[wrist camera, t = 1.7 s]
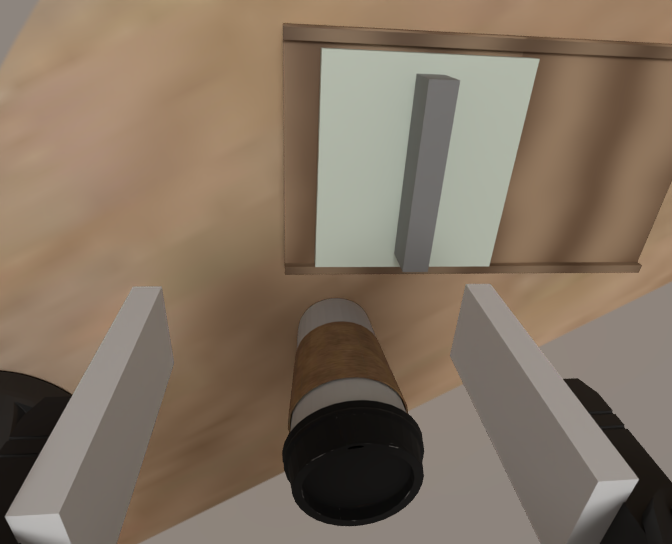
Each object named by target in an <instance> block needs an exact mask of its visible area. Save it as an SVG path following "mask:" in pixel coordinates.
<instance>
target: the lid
mask: <svg viewBox="0 0 672 544" xmlns="http://www.w3.org/2000/svg"><path fill="white" fill-rule="evenodd" d="M539 60H540V59H537V58H528V57H507V56H487V55H466V54H445V53H425V52H404V51H383V50H363V49H342V48H321V59H320V93H319V128H318V162H317V197H316V231H315V267H400V268H401V270H402V272H428V268H429V267H462V266H489V265H490V261H491V257H492V253H493V248H494V244H495V240H496V236H497V232H498V228H499V224H500V220H501V216H502V212H503V207H504V203H505V199H506V195H507V191H508V187H509V183H510V179H511V175H512V171H513V166H514V162H515V158H516V154H517V150H518V146H519V142H520V138H521V134H522V130H523V125H524V121H525V117H526V113H527V109H528V105H529V101H530V97H531V93H532V89H533V84H534V80H535V76H536V72H537V68H538V64H539Z"/></svg>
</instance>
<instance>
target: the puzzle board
mask: <svg viewBox="0 0 672 544" xmlns="http://www.w3.org/2000/svg"><path fill="white" fill-rule="evenodd" d="M321 48H342V49H363V50H383V51H404V52H425V53H445V54H466V55H487V56H507V57H528V58H537V59H540V60H539V64H538V68H537V72H536V76H535V80H534V84H533V89H532V93H531V97H530V101H529V105H528V109H527V113H526V117H525V121H524V125H523V130H522V134H521V138H520V142H519V146H518V150H517V154H516V158H515V162H514V166H513V171H512V175H511V179H510V183H509V187H508V191H507V195H506V199H505V203H504V207H503V212H502V216H501V220H500V224H499V228H498V232H497V236H496V240H495V244H494V248H493V253H492V257H491V261H490V265H489V266H462V267H429V268H428V272H402V270H401V268H400V267H315V231H316V197H317V162H318V128H319V93H320V59H321ZM283 74H284V209H285V275H304V274H471V273H639V271H640V268H641V266H642V265H641V264H639V263H638V259H639V257H640V254H641V252H642V250H643V247H644V245H645V243H646V240H647V238H648V236H649V233H650V231H651V229H652V226H653V224H654V221H655V219H656V217H657V214H658V212H659V210H660V207H661V205H662V203H663V200H664V198H665V195H666V193H667V191H668V188H669V186H670V184H671V181H672V44H662V43H643V42H625V41H606V40H587V39H569V38H550V37H532V36H513V35H494V34H476V33H457V32H439V31H420V30H401V29H383V28H364V27H345V26H327V25H308V24H290V23H283Z"/></svg>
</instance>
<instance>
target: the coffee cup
mask: <svg viewBox="0 0 672 544" xmlns="http://www.w3.org/2000/svg"><path fill="white" fill-rule="evenodd" d="M288 430H289V435H288V437H287V439H286V440H285V443H284V447H283V451H282V456H283V463H284V471H285V473H286V476H287V479H288V480H289V482H290V483H291V488H292V494H293V497H294V499H295V502H296V503H297V505H298V506H299V507H300V509H301V510H303V511H304V512H305V513H306V514H307V515H309V516H310V517H312V518H314V519H316V520H318V521H321V522H324V523H327V524H332V525H337V526H358V525H365V524H371V523H375V522H377V521H381V520H384V519H386V518H388V517H390V516H392V515H394V514H396V513H397V512H399V511H400V510H402V509H403V508H404V507H406V506H407V505H408V504H409V503H410V502H411V501H412V500H413V499H414V497H415V496H416V495H417V493H418V492H419V490H420V487H421V485H422V482H423V477H424V474H423V465H422V460H423V454H424V447H423V441H422V433H421V431H420V428H419V426H418V424H417V423H416V422H415V420H414V419H413V418H412V417H411V416H410V415H409V414H408V409H407V405H406V402H405V400H404V398H403V396H402V393H401V391H400V389H399V387H398V385H397V382H396V380H395V378H394V376H393V373H392V371H391V369H390V367H389V364H388V362H387V360H386V358H385V355H384V353H383V351H382V349H381V347H380V344H379V342H378V340H377V338H376V336H375V333H374V331H373V328H372V326H371V323H370V321H369V319H368V317H367V314H366V313H365V311H364V310H363V309H362V308H361V307H360V306H359V305H358V304H356V303H354V302H352V301H350V300H346V299H341V298H331V299H326V300H322V301H320V302H317V303H316V304H314V305H312V306H311V307H310V308H309V309H307V310H306V312H305V313H304V314H303V316H302V318H301V320H300V323H299V327H298V338H297V351H296V356H295V365H294V374H293V383H292V391H291V400H290V409H289V418H288Z"/></svg>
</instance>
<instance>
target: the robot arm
mask: <svg viewBox="0 0 672 544" xmlns="http://www.w3.org/2000/svg"><path fill="white" fill-rule="evenodd" d="M450 357H451V359H452V361H453V363H454V365H455V367H456V369H457V372H458V374H459V376H460V378H461V380H462V382H463V384H464V386H465V388H466V390H467V392H468V394H469V396H470V398H471V400H472V403H473V405H474V407H475V409H476V411H477V413H478V415H479V417H480V419H481V421H482V423H483V425H484V427H485V429H486V432H487V434H488V436H489V438H490V440H491V442H492V444H493V446H494V448H495V450H496V452H497V454H498V456H499V458H500V460H501V463H502V465H503V467H504V469H505V471H506V473H507V475H508V477H509V479H510V481H511V483H512V485H513V487H514V490H515V491H516V494H517V496H518V498H519V500H520V502H521V504H522V506H523V508H524V510H525V512H526V514H527V516H528V519H529V520H530V523H531V525H532V527H533V529H534V531H535V533H536V535H537V537H538V539H539V541H540V543H541V544H672V482H671V481H670V480H669V479H668V477H667V476H666V475H665V474H664V472H663V471H662V470H661V469H660V468H659V466H658V465H657V464H656V463H655V462H654V460H653V459H652V458H651V457H650V456H649V454H648V453H647V452H646V451H645V449H644V448H643V447H642V446H641V445H640V443H639V442H638V441H637V440H636V439H635V437H634V436H633V435H632V434H631V432H630V431H629V430H628V429H625V428H624V424H623V423H622V422H621V420H620V419H619V418H618V417H617V416H616V414H613V413H612V409H611V408H610V407H609V406H608V405H607V403H606V402H605V401H604V400H603V399H602V397H601V396H600V395H599V394H598V393H597V392H596V391H594V390H593V389H592V388H590V387H589V386H587V385H586V384H585V383H583V382H582V381H581V380H579V379H562V378H561V376H560V375H559V373H558V372H557V371H556V370H555V368H554V367H553V366H552V364H551V363H550V362H549V360H548V359H547V358H546V357H545V355H544V354H543V352H542V351H541V350H540V349H539V347H538V346H537V345H536V343H535V342H534V341H533V339H532V338H531V337H530V335H529V334H528V333H527V331H526V330H525V329H524V328H523V326H522V325H521V324H520V322H519V321H518V320H517V318H516V317H515V316H514V314H513V313H512V312H511V310H510V309H509V308H508V306H507V305H506V304H505V303H504V301H503V300H502V299H501V297H500V296H499V295H498V293H497V292H496V291H495V289H494V288H493V287H492V285H491V284H466V286H465V290H464V295H463V299H462V304H461V308H460V313H459V317H458V322H457V326H456V331H455V335H454V340H453V344H452V349H451V354H450ZM173 365H174V360H173V353H172V347H171V341H170V335H169V329H168V322H167V316H166V310H165V304H164V298H163V292H162V286H161V287H133V288H132V289H131V291H130V293H129V295H128V297H127V298H126V300H125V302H124V304H123V306H122V307H121V309H120V311H119V313H118V315H117V316H116V318H115V320H114V322H113V323H112V325H111V327H110V329H109V331H108V332H107V334H106V336H105V338H104V340H103V341H102V343H101V345H100V347H99V349H98V350H97V352H96V354H95V356H94V358H93V359H92V361H91V363H90V365H89V366H88V368H87V370H86V372H85V374H84V375H83V377H82V379H81V381H80V383H79V384H78V386H77V388H76V390H75V392H74V393H73V395H72V396H71V395H69V394H68V393H66V392H65V391H63V390H61V389H59V388H57V387H55V386H53V385H51V384H49V383H46V382H44V381H41V380H38V379H35V378H32V377H29V376H25V375H21V374H16V373H10V372H1V371H0V544H117V541H118V538H119V534H120V531H121V528H122V525H123V522H124V519H125V516H126V512H127V509H128V506H129V503H130V500H131V497H132V494H133V490H134V487H135V484H136V481H137V478H138V475H139V472H140V468H141V465H142V462H143V459H144V456H145V453H146V450H147V446H148V443H149V440H150V437H151V434H152V431H153V428H154V424H155V421H156V418H157V415H158V412H159V409H160V406H161V402H162V399H163V396H164V393H165V390H166V387H167V384H168V380H169V377H170V374H171V371H172V368H173Z"/></svg>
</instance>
